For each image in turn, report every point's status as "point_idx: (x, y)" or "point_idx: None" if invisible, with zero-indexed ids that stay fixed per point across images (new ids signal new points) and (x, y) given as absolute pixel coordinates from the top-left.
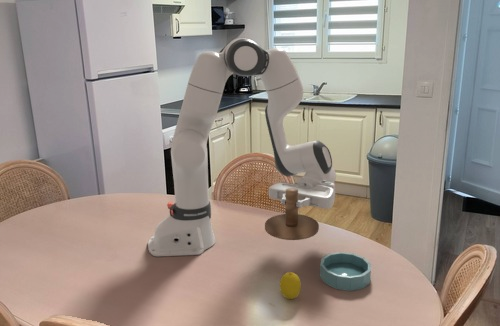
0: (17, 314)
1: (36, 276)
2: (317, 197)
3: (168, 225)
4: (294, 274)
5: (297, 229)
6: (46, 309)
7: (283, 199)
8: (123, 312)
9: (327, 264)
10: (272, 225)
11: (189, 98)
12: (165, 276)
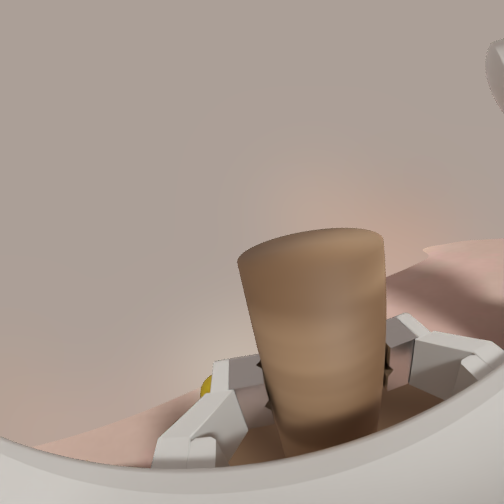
0: (436, 245)
1: (493, 248)
2: (60, 457)
3: None
4: (209, 382)
5: (265, 455)
6: (434, 253)
7: (387, 320)
8: (395, 282)
9: None
10: (396, 404)
11: None
12: (455, 316)
